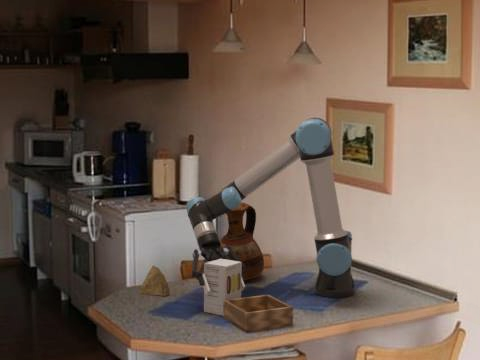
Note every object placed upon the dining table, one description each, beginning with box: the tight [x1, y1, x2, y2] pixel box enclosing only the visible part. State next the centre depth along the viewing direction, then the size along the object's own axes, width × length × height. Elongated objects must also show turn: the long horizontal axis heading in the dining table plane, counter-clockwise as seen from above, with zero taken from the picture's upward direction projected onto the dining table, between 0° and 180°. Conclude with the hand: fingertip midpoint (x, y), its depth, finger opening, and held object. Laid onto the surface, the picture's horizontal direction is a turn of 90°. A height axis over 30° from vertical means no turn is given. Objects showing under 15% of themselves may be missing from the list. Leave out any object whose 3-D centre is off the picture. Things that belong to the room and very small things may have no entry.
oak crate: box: [222, 294, 294, 333], centre depth 261 cm, size 17×17×6 cm
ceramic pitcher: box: [219, 202, 265, 281], centre depth 316 cm, size 20×20×30 cm
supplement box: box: [203, 259, 242, 316], centre depth 272 cm, size 10×9×17 cm
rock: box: [139, 265, 170, 297], centre depth 293 cm, size 11×9×10 cm
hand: (225, 291), depth 270 cm, fingers closed on supplement box, 12 cm apart
